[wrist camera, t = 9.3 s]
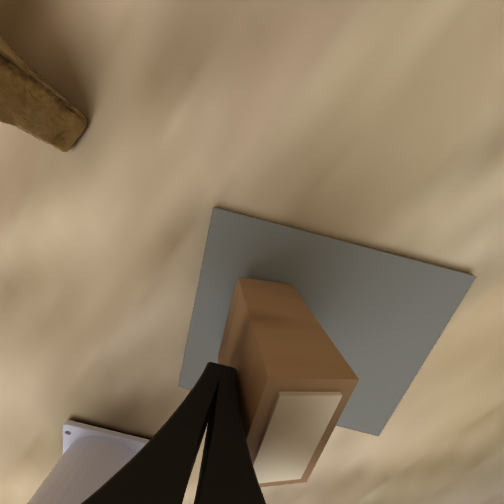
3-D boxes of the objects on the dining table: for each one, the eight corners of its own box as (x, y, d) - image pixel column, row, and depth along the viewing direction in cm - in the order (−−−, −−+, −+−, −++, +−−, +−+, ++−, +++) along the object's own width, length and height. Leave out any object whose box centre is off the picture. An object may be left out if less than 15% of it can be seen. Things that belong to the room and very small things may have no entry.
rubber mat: (376, 430, 19) (378, 436, 18) (180, 381, 18) (178, 386, 18) (471, 273, 14) (476, 276, 14) (214, 206, 14) (213, 207, 14)
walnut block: (266, 358, 17) (307, 486, 10) (217, 356, 16) (228, 495, 9) (291, 284, 15) (361, 383, 8) (237, 276, 14) (269, 381, 7)
